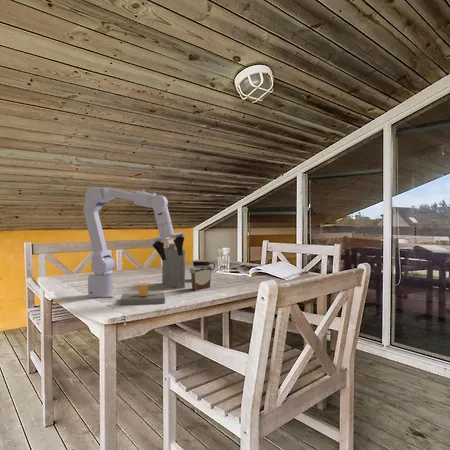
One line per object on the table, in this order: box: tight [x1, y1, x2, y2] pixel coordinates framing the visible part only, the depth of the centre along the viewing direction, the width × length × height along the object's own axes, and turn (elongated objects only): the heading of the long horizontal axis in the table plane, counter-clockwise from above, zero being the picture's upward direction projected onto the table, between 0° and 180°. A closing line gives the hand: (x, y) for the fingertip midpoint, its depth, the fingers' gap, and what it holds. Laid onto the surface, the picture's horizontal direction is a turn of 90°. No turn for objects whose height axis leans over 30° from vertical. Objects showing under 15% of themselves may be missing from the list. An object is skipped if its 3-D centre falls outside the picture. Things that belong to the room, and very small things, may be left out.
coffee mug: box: [192, 259, 216, 271], centre depth 182 cm, size 12×9×10 cm
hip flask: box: [161, 243, 186, 289], centre depth 165 cm, size 16×4×20 cm, turn 44°
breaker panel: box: [120, 291, 166, 306], centre depth 134 cm, size 16×10×2 cm, turn 102°
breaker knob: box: [138, 280, 148, 296], centre depth 134 cm, size 3×5×5 cm, turn 12°
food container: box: [189, 265, 213, 292], centre depth 159 cm, size 12×6×10 cm, turn 141°
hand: (172, 257), depth 139 cm, fingers open, 7 cm apart
